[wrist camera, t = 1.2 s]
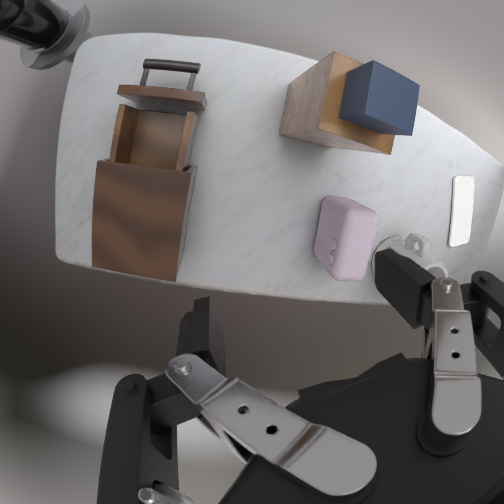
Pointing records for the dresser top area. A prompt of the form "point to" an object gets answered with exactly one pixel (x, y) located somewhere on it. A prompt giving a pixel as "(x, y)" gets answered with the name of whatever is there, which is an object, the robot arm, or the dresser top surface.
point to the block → (379, 99)
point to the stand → (327, 109)
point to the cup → (414, 253)
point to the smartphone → (461, 210)
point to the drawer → (157, 121)
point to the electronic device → (345, 238)
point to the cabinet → (140, 218)
